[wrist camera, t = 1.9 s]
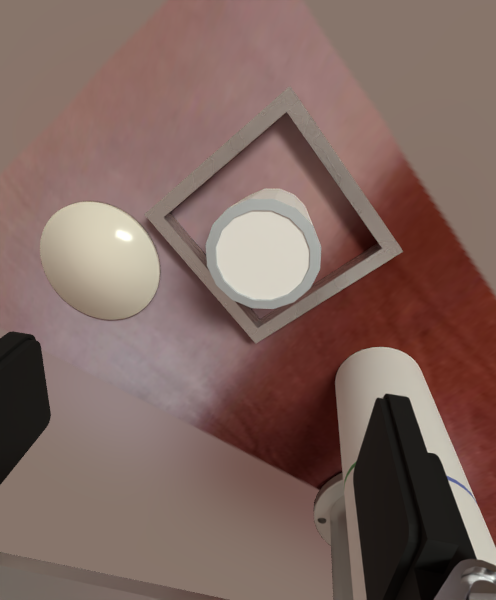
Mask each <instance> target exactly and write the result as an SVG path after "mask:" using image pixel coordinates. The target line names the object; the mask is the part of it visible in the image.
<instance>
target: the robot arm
mask: <svg viewBox="0 0 496 600" xmlns="http://www.w3.org/2000/svg"><path fill="white" fill-rule="evenodd" d="M50 416H51V414H50V406H49V400H48V393H47V386H46V379H45V373H44V366H43V359H42V352H41V346H40V343H39V342H38V341H36V339H35V337H34V336H33V335H31V334H25V333H19V332H9V333H7V334H6V335H4V336H3V337H2V338H0V484H1V483H2V482H3V481H4V479H5V478H6V477H7V476H8V475H9V473H10V472H11V471H12V470H13V468H14V467H15V466H16V465H17V463H18V462H19V461H20V460H21V458H22V457H23V456H24V455H25V453H26V452H27V451H28V450H29V448H30V447H31V446H32V444H33V443H34V442H35V441H36V440H37V438H38V437H39V436H40V434H41V433H42V432H43V431H44V430H45V428H46V427H47V425H48V423H49V421H50ZM353 486H354V495H355V503H356V512H357V520H358V529H359V538H360V546H361V555H362V563H363V572H364V581H365V589H366V598H367V600H496V566H495V565H494V564H491V563H488V562H486V561H483V560H478V559H477V558H476V555H475V552H474V549H473V547H472V544H471V541H470V538H469V536H468V533H467V530H466V528H465V525H464V522H463V519H462V517H461V514H460V511H459V509H458V506H457V503H456V500H455V498H454V495H453V492H452V490H451V487H450V484H449V481H448V479H447V476H446V473H445V470H444V468H443V465H442V462H441V460H440V458H439V457H438V456H437V455H436V454H434V453H428V452H427V449H426V446H425V443H424V440H423V437H422V434H421V431H420V428H419V425H418V422H417V419H416V416H415V413H414V410H413V407H412V404H411V402H410V399H409V398H408V397H406V396H399V395H393V394H387V393H386V394H385V395H384V397H383V398H377V399H376V400H375V403H374V407H373V410H372V413H371V416H370V419H369V423H368V426H367V429H366V432H365V436H364V439H363V442H362V445H361V448H360V452H359V455H358V458H357V461H356V465H355V468H354V473H353ZM314 522H315V525H316V528H317V530H318V532H319V534H320V535H321V537H322V538H323V539H324V540H325V541H326V542H327V543H328V544H329V545H330V546H331V555H332V578H333V600H353V588H352V577H351V565H350V554H349V542H348V531H347V519H346V508H345V496H344V484H343V473H340V474H338V475H337V476H335V477H333V478H332V479H330V480H329V481H328V482H327V483H326V484H325V485H323V486H322V488H321V489H320V491H319V492H318V494H317V496H316V499H315V502H314ZM0 600H227V599H223V598H218V597H214V596H209V595H204V594H199V593H195V592H190V591H185V590H181V589H176V588H171V587H167V586H162V585H157V584H152V583H148V582H143V581H138V580H132V579H128V578H123V577H118V576H114V575H108V574H104V573H99V572H95V571H90V570H85V569H80V568H75V567H70V566H65V565H60V564H55V563H51V562H46V561H41V560H36V559H31V558H27V557H21V556H17V555H11V554H7V553H2V552H0Z"/></svg>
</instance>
